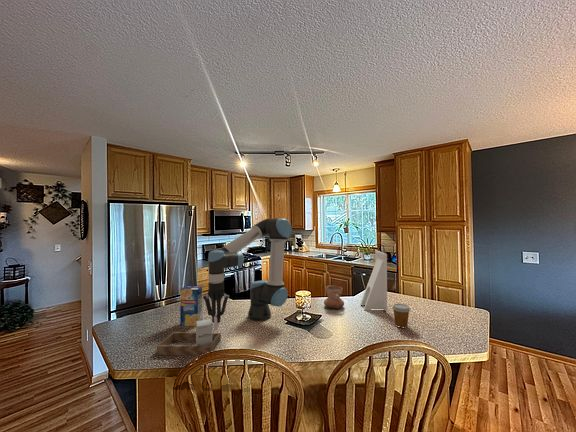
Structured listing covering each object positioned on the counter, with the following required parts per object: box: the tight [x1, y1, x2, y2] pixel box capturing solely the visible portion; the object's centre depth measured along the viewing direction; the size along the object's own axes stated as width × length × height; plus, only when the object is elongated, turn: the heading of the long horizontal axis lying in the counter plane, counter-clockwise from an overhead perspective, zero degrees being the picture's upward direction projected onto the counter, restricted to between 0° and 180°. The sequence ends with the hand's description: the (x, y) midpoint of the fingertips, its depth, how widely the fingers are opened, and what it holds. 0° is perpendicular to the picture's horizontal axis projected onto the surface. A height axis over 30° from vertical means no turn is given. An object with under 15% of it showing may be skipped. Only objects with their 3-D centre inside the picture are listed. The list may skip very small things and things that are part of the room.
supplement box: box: [195, 318, 213, 346], centre depth 128 cm, size 7×7×13 cm
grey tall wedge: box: [359, 249, 388, 312], centre depth 183 cm, size 20×14×40 cm
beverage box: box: [179, 285, 203, 327], centre depth 157 cm, size 7×11×22 cm, turn 86°
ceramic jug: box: [323, 284, 345, 310], centre depth 185 cm, size 18×14×14 cm
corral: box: [156, 331, 222, 357], centre depth 128 cm, size 26×15×4 cm, turn 87°
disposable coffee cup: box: [392, 303, 411, 327], centre depth 151 cm, size 10×10×12 cm
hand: (216, 328), depth 127 cm, fingers closed
